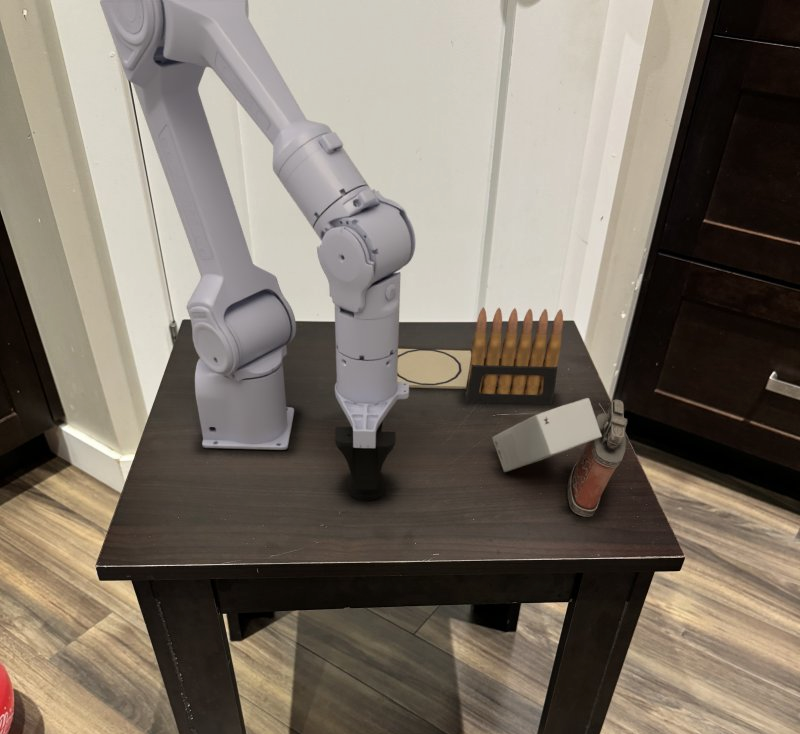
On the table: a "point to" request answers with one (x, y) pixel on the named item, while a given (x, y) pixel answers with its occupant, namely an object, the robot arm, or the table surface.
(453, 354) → the drawing pad
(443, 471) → the table surface
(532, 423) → the cosmetic box
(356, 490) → the chess piece
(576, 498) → the lighter
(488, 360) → the ammunition clip
